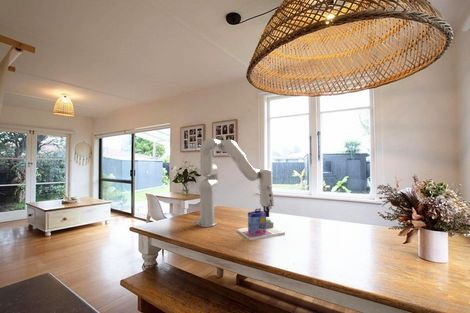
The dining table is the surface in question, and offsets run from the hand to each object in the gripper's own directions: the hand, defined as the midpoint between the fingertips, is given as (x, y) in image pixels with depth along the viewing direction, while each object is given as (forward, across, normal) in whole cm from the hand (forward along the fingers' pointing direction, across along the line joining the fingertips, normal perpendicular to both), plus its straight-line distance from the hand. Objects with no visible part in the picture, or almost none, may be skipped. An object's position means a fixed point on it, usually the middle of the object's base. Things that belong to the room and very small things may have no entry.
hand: (266, 216), depth 142 cm
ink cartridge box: (+6, -8, +12) cm, 16 cm away
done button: (+4, 0, 0) cm, 4 cm away
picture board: (+8, -5, +8) cm, 12 cm away
